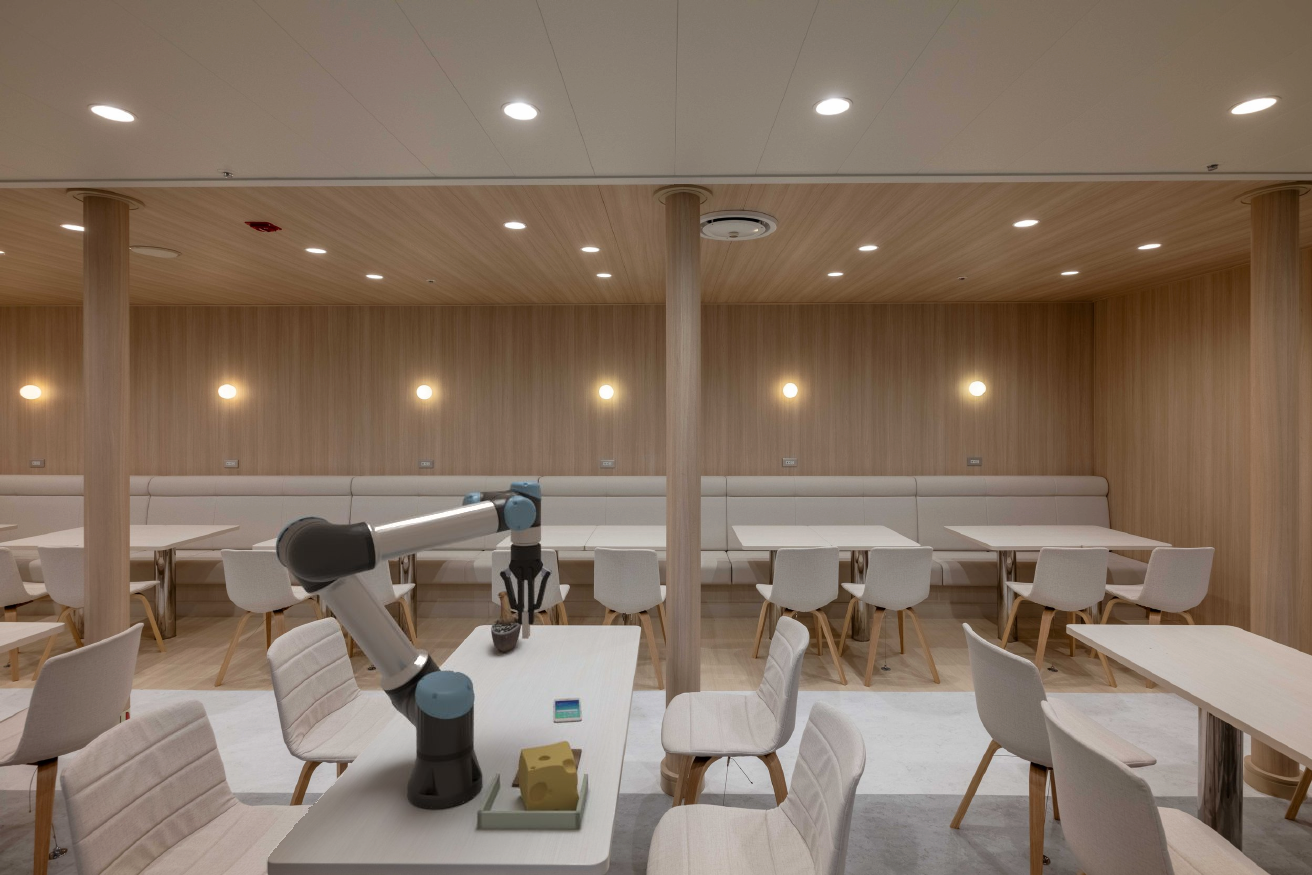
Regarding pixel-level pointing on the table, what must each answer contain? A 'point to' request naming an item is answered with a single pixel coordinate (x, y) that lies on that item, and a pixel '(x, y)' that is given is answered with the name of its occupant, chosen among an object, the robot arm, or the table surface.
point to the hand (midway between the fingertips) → (526, 636)
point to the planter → (505, 626)
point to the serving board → (576, 758)
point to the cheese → (548, 778)
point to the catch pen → (529, 813)
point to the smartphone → (567, 710)
